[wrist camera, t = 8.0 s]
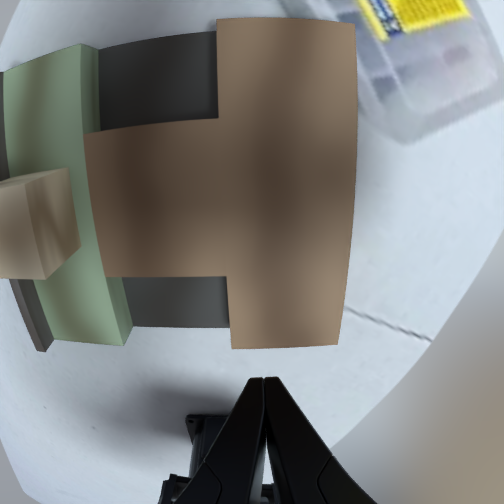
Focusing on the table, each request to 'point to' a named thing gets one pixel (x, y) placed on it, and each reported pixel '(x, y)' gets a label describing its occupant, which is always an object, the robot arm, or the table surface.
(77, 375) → the table surface
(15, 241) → the maple block
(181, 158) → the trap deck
